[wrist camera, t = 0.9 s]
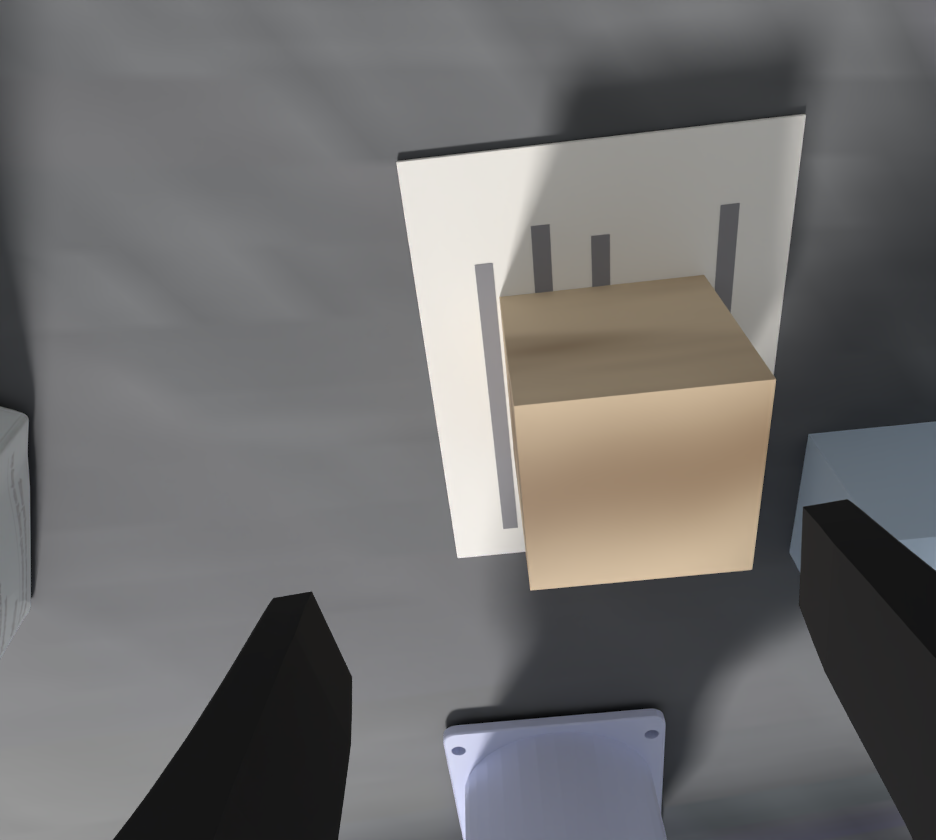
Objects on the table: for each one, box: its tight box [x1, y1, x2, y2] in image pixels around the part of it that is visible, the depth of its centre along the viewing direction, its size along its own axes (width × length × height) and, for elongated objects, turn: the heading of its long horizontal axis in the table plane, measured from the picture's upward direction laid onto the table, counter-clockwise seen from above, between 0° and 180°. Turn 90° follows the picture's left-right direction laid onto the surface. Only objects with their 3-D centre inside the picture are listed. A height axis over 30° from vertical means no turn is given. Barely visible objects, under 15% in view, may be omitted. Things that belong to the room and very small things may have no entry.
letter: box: [396, 114, 806, 558], centre depth 21 cm, size 12×9×1 cm
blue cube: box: [789, 421, 936, 572], centre depth 21 cm, size 4×4×4 cm
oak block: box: [499, 275, 776, 591], centre depth 19 cm, size 5×5×5 cm
